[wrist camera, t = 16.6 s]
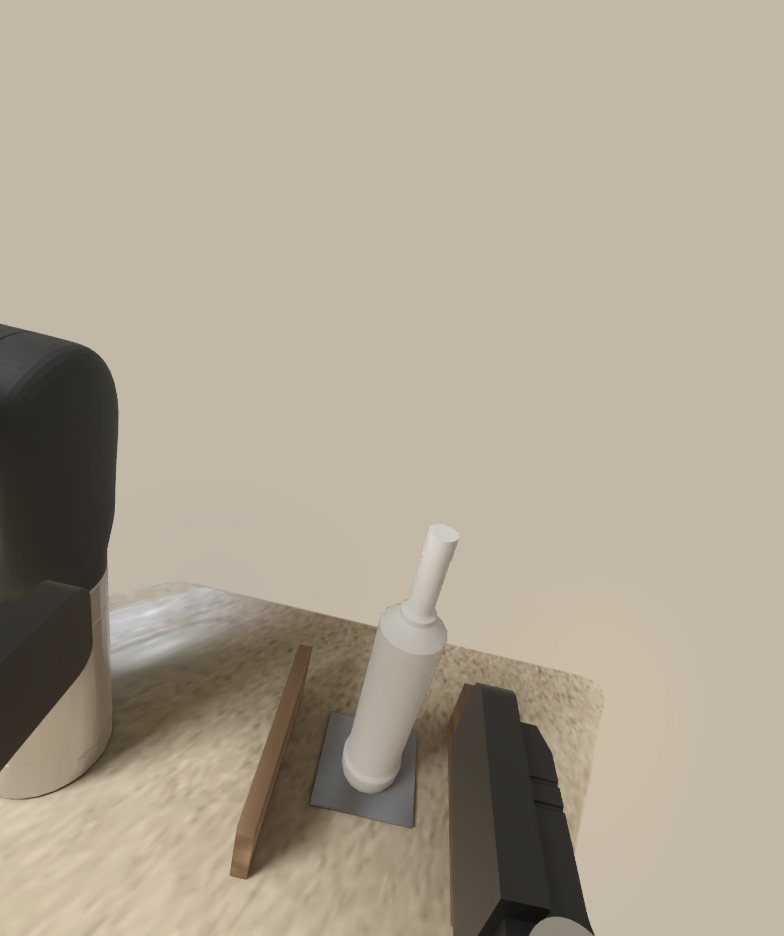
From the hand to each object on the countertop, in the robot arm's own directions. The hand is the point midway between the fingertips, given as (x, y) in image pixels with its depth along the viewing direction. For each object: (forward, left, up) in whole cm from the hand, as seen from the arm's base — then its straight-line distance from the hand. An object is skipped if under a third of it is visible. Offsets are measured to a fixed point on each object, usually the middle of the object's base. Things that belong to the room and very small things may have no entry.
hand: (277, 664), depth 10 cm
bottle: (+6, +21, -34) cm, 40 cm away
